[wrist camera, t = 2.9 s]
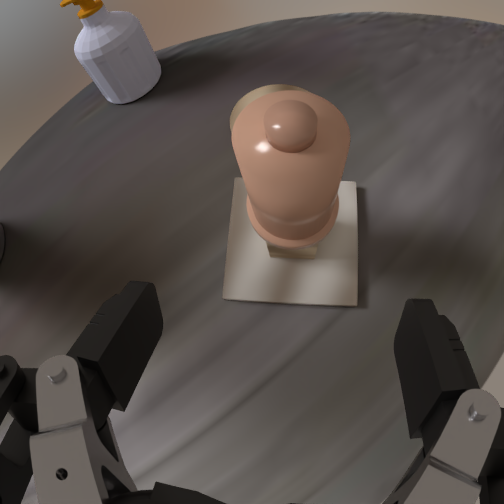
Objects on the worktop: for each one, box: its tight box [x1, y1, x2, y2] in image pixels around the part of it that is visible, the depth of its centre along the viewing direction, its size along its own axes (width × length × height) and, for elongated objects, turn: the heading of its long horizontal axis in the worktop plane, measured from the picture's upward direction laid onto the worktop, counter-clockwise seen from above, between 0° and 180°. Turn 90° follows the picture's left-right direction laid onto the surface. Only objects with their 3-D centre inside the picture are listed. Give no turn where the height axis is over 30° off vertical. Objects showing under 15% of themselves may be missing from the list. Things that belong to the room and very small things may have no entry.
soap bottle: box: [60, 0, 161, 104], centre depth 28 cm, size 9×9×25 cm
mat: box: [230, 84, 310, 132], centre depth 34 cm, size 11×11×1 cm
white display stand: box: [222, 178, 358, 307], centre depth 27 cm, size 12×12×8 cm
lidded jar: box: [232, 90, 350, 250], centre depth 18 cm, size 6×6×10 cm
